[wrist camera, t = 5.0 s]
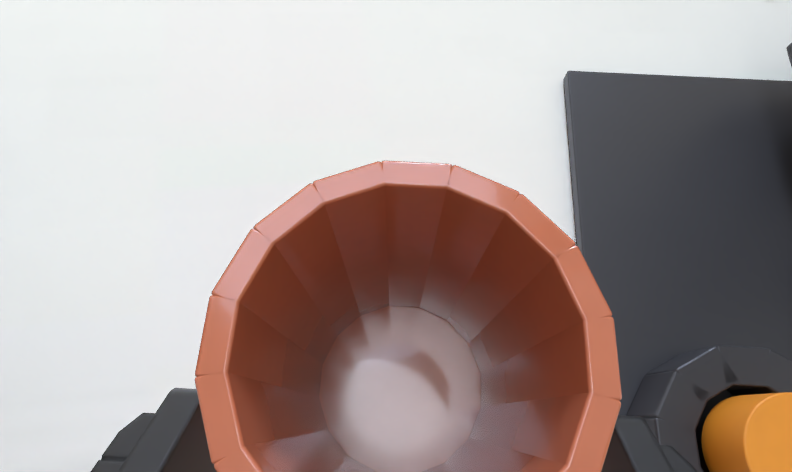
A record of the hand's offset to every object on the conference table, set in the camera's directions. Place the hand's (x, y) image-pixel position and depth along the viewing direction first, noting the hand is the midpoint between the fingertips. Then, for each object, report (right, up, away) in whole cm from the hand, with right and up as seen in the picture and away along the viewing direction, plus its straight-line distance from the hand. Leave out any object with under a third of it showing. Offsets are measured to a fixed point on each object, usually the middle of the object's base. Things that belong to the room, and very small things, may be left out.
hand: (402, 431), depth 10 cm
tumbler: (0, -1, +7) cm, 7 cm away
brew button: (+11, -2, +4) cm, 12 cm away
